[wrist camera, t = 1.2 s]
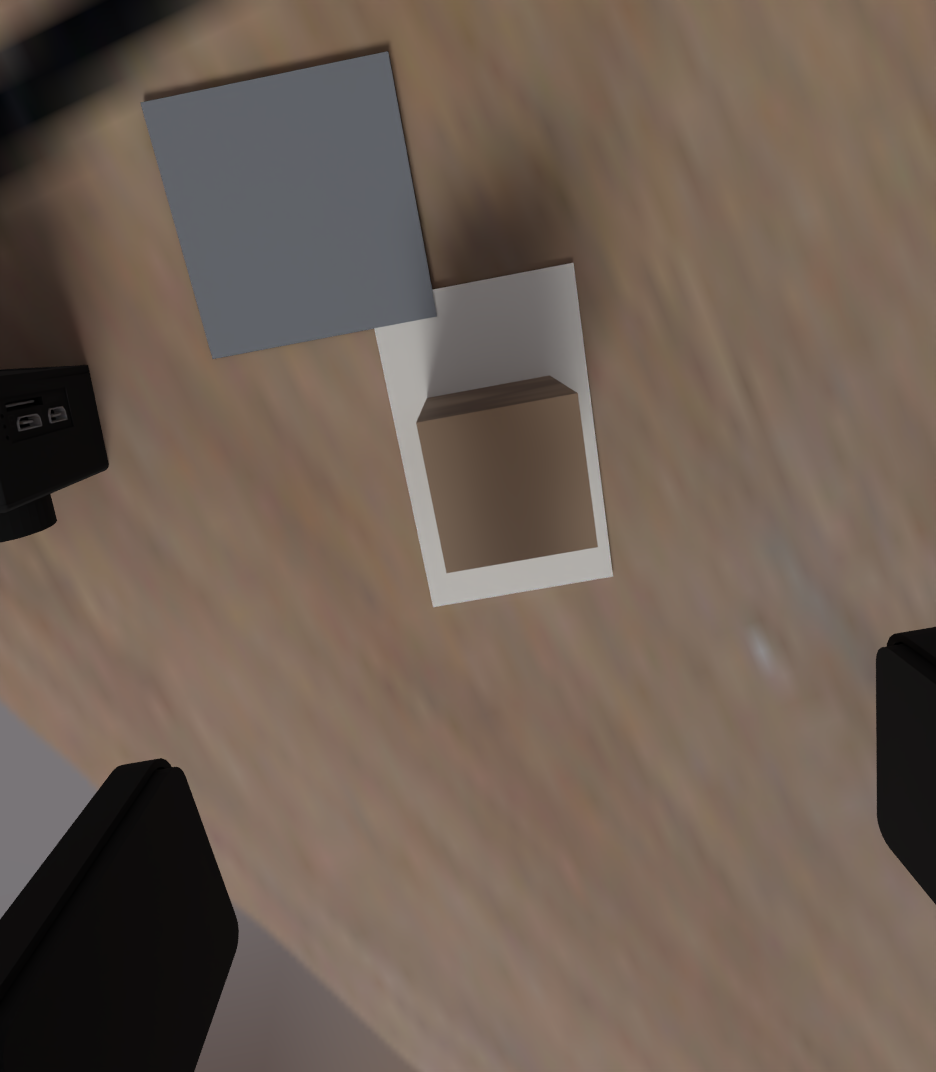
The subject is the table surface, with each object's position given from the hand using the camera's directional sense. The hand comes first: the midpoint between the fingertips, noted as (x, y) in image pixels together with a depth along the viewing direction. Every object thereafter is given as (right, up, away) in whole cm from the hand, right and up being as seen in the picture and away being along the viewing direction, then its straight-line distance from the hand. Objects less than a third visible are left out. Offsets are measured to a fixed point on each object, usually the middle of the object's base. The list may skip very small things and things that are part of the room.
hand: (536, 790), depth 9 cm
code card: (0, +7, +20) cm, 21 cm away
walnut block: (0, +7, +19) cm, 21 cm away
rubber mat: (-7, +15, +17) cm, 24 cm away
